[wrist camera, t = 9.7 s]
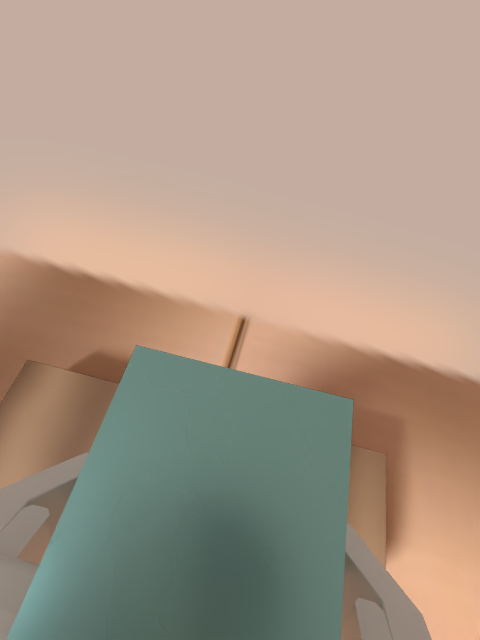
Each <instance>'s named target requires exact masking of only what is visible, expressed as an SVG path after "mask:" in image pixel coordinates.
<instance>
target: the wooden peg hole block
mask: <svg viewBox="0 0 480 640" xmlns="http://www.w3.org/2000/svg"><path fill="white" fill-rule="evenodd" d="M118 386H119V384H118V383H114V382H110V381H107V380H103V379H99V378H95V377H91V376H88V375H84V374H80V373H76V372H72V371H69V370H65V369H61V368H57V367H53V366H50V365H46V364H42V363H38V362H34V361H31V360H27V362H26V363H25V365H24V367H23V368H22V370H21V371H20V373H19V375H18V376H17V378H16V380H15V381H14V383H13V384H12V386H11V388H10V389H9V391H8V393H7V394H6V396H5V397H4V399H3V401H2V402H1V404H0V489H1V488H3V487H6V486H8V485H11V484H13V483H15V482H18V481H20V480H22V479H25V478H27V477H29V476H32V475H34V474H36V473H39V472H41V471H43V470H46V469H48V468H50V467H53V466H55V465H58V464H60V463H62V462H65V461H67V460H69V459H72V458H74V457H76V456H79V455H81V454H83V453H89V451H90V449H91V447H92V445H93V442H94V440H95V438H96V435H97V433H98V431H99V429H100V426H101V424H102V422H103V420H104V417H105V415H106V413H107V411H108V408H109V406H110V404H111V401H112V399H113V397H114V395H115V392H116V390H117V388H118ZM347 524H349V525H351V527H352V528H353V529H354V530H355V532H356V533H357V534H358V535H359V537H360V538H361V539H362V540H363V542H364V543H365V544H366V545H367V547H368V548H369V549H370V550H371V552H372V553H373V554H374V555H375V557H376V558H377V559H378V560H379V562H380V563H381V564H382V565H383V566H384V568H385V569H386V454H384V453H380V452H376V451H372V450H369V449H365V448H361V447H357V446H353V445H351V457H350V475H349V494H348V513H347Z"/></svg>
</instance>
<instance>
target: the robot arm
mask: <svg viewBox="0 0 480 640" xmlns="http://www.w3.org/2000/svg"><path fill="white" fill-rule="evenodd" d="M88 454H89V453H83V454H81V455H79V456H76V457H74V458H72V459H69V460H67V461H65V462H62V463H60V464H58V465H55V466H53V467H50V468H48V469H46V470H43V471H41V472H39V473H36V474H34V475H32V476H29V477H27V478H25V479H22V480H20V481H18V482H15V483H13V484H11V485H8V486H6V487H3V488H1V489H0V640H6V639H7V637H8V635H9V633H10V630H11V628H12V626H13V624H14V621H15V619H16V617H17V615H18V612H19V610H20V608H21V605H22V603H23V601H24V599H25V596H26V594H27V592H28V590H29V587H30V585H31V583H32V581H33V578H34V576H35V574H36V571H37V569H38V567H39V565H40V562H41V560H42V558H43V556H44V553H45V551H46V549H47V547H48V544H49V542H50V540H51V537H52V535H53V533H54V531H55V528H56V526H57V524H58V522H59V519H60V517H61V515H62V513H63V510H64V508H65V506H66V503H67V501H68V499H69V497H70V494H71V492H72V490H73V488H74V485H75V483H76V481H77V479H78V476H79V474H80V472H81V469H82V467H83V465H84V463H85V460H86V458H87V456H88ZM341 640H432V639H431V637H430V634H429V631H428V629H427V626H426V623H425V621H424V618H423V616H422V614H421V612H420V611H419V610H418V609H417V608H416V606H415V605H414V604H413V603H412V601H411V600H410V599H409V598H408V596H407V595H406V594H405V593H404V591H403V590H402V589H401V588H400V586H399V585H398V584H397V583H396V581H395V580H394V579H393V578H392V576H391V575H390V574H389V573H388V571H387V570H386V569H385V568H384V566H383V565H382V564H381V563H380V562H379V560H378V559H377V558H376V557H375V555H374V554H373V553H372V552H371V550H370V549H369V548H368V547H367V545H366V544H365V543H364V542H363V540H362V539H361V538H360V537H359V535H358V534H357V533H356V532H355V530H354V529H353V528H352V527H351V525H349V524H347V531H346V550H345V568H344V587H343V605H342V624H341Z"/></svg>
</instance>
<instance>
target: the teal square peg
mask: <svg viewBox="0 0 480 640" xmlns="http://www.w3.org/2000/svg"><path fill="white" fill-rule="evenodd" d="M353 401H354V400H352V399H348V398H344V397H340V396H336V395H332V394H328V393H324V392H320V391H316V390H313V389H309V388H305V387H301V386H297V385H293V384H289V383H285V382H281V381H277V380H273V379H269V378H265V377H261V376H257V375H253V374H249V373H245V372H241V371H237V370H233V369H229V368H225V367H221V366H217V365H213V364H209V363H205V362H201V361H197V360H193V359H189V358H185V357H181V356H177V355H173V354H169V353H165V352H161V351H158V350H154V349H150V348H146V347H142V346H138V345H136V347H135V349H134V352H133V354H132V356H131V358H130V361H129V363H128V365H127V367H126V370H125V372H124V374H123V376H122V379H121V381H120V383H119V386H118V388H117V390H116V392H115V395H114V397H113V399H112V401H111V404H110V406H109V408H108V411H107V413H106V415H105V417H104V420H103V422H102V424H101V426H100V429H99V431H98V433H97V435H96V438H95V440H94V442H93V445H92V447H91V449H90V451H89V454H88V456H87V458H86V460H85V463H84V465H83V467H82V469H81V472H80V474H79V476H78V479H77V481H76V483H75V485H74V488H73V490H72V492H71V494H70V497H69V499H68V501H67V503H66V506H65V508H64V510H63V513H62V515H61V517H60V519H59V522H58V524H57V526H56V528H55V531H54V533H53V535H52V537H51V540H50V542H49V544H48V547H47V549H46V551H45V553H44V556H43V558H42V560H41V562H40V565H39V567H38V569H37V571H36V574H35V576H34V578H33V581H32V583H31V585H30V587H29V590H28V592H27V594H26V596H25V599H24V601H23V603H22V605H21V608H20V610H19V612H18V615H17V617H16V619H15V621H14V624H13V626H12V628H11V630H10V633H9V635H8V637H7V639H6V640H341V624H342V605H343V587H344V568H345V550H346V531H347V513H348V494H349V475H350V457H351V438H352V420H353Z"/></svg>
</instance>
